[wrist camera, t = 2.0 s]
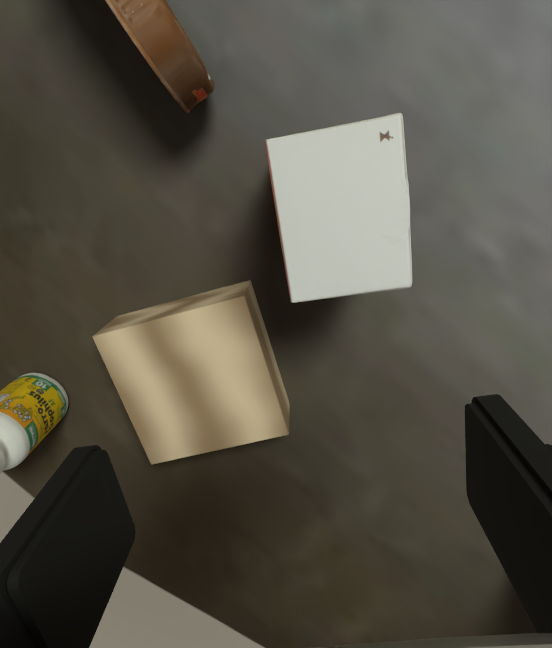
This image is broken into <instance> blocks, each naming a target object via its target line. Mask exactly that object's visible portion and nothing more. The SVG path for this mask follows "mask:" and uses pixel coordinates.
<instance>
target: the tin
mask: <svg viewBox="0 0 552 648" xmlns="http://www.w3.org/2000/svg"><path fill="white" fill-rule="evenodd" d="M105 1H106V3H107V4H108V5H109V7H110V9H111V10H112V12H113V13H114V15H115V16H116V18H117V19H118V21H119V22H120V24H121V25H122V27H123V28H124V30H125V31H126V33H127V34H128V36H129V37H130V38H131V40H132V41H133V43H134V44H135V45H136V47H137V48H138V50H139V51H140V52H141V54H142V55H143V57H144V58H145V60H146V61H147V62H148V64H149V65H150V67H151V68H152V69H153V71H154V72H155V74H156V75H157V76H158V78H159V79H160V80H161V82H162V83H163V85H164V86H165V87H166V89H167V90H168V91H169V92H170V94H171V95H172V96H173V98H174V99H175V100H176V102H177V103H178V104H179V105H180V106H181V107H182V108H183V110H184V111H185V112H186V113H190V110H191V109H192V108H193V107H194V106H196V105H197V104H198V103H199V102H201V101H202V100H204V99H205V98H206V97H207V96H208V95H209V94H211V93H212V92H213V90H214V82H213V80H212V78H211V77H210V75H209V74H208V72H207V71H206V68H205V66H204V64H203V62H202V60H201V58H200V57H199V55H198V53H197V51H196V50H195V48H194V46H193V45H192V43H191V41H190V39H189V38H188V36H187V35H186V33H185V32H184V30H183V28H182V27H181V25H180V23H179V22H178V20H177V19H176V17H175V15H174V14H173V12H172V11H171V9H170V7H169V6H168V4H167V2H166V1H165V0H105Z"/></svg>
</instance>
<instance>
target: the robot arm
mask: <svg viewBox="0 0 552 648" xmlns="http://www.w3.org/2000/svg"><path fill="white" fill-rule="evenodd" d="M465 439H466V488H467V496H468V500H469V503H470V505H471V507H472V509H473V511H474V513H475V515H476V517H477V519H478V521H479V522H480V524H481V526H482V528H483V530H484V532H485V534H486V536H487V538H488V539H489V541H490V543H491V545H492V547H493V549H494V551H495V553H496V555H497V557H498V558H499V560H500V562H501V564H502V566H503V568H504V570H505V572H506V574H507V575H508V577H509V579H510V581H511V583H512V585H513V587H514V589H515V591H516V592H517V594H518V596H519V598H520V600H521V602H522V604H523V606H524V608H525V610H526V611H527V613H528V615H529V617H530V619H531V621H532V623H533V625H534V627H535V628H536V630H537V632H538V633H526V634H507V635H488V636H469V637H450V638H435V639H421V640H407V641H393V642H379V643H365V644H351V645H336V646H322V647H309V648H552V445H549V444H544V443H543V442H542V441H541V440H540V439H539V438H538V437H537V435H536V434H535V433H534V432H533V431H532V430H531V429H530V428H529V427H528V426H527V424H526V423H525V422H524V421H523V420H522V419H521V418H520V417H519V416H518V415H517V414H516V412H515V411H514V410H513V409H512V408H511V407H510V406H509V405H508V404H507V403H506V401H505V400H504V399H503V398H502V397H501V396H500V395H498V394H495V395H487V396H479V397H474V398H473V399H472V403H471V404H466V406H465ZM134 538H135V526H134V523H133V521H132V518H131V515H130V512H129V510H128V507H127V504H126V502H125V499H124V496H123V493H122V491H121V488H120V485H119V483H118V480H117V477H116V475H115V472H114V469H113V466H112V464H111V461H110V458H109V456H108V453H107V452H106V451H105V450H101V448H100V447H99V446H97V445H94V446H86V447H78V448H74V449H73V450H72V451H71V452H70V454H69V455H68V456H67V458H66V459H65V460H64V461H63V463H62V464H61V465H60V467H59V468H58V469H57V470H56V472H55V473H54V474H53V476H52V477H51V478H50V480H49V481H48V482H47V483H46V485H45V486H44V487H43V489H42V490H41V491H40V492H39V494H38V495H37V496H36V498H35V499H34V500H33V502H32V503H31V504H30V505H29V507H28V508H27V509H26V511H25V512H24V513H23V514H22V516H21V517H20V518H19V520H18V521H17V522H16V523H15V525H14V526H13V527H12V529H11V530H10V531H9V533H8V534H7V535H6V536H5V538H4V539H3V540H2V542H1V543H0V648H89V646H90V644H91V642H92V639H93V637H94V634H95V632H96V630H97V627H98V625H99V622H100V620H101V618H102V615H103V613H104V611H105V608H106V606H107V604H108V601H109V599H110V597H111V594H112V592H113V589H114V587H115V585H116V582H117V580H118V578H119V575H120V573H121V570H122V568H123V566H124V563H125V561H126V559H127V556H128V554H129V551H130V549H131V547H132V544H133V542H134Z"/></svg>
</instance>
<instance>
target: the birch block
mask: <svg viewBox="0 0 552 648" xmlns="http://www.w3.org/2000/svg"><path fill="white" fill-rule="evenodd" d="M92 337H93V339H94V341H95V343H96V346H97V348H98V350H99V352H100V354H101V356H102V359H103V361H104V363H105V365H106V367H107V369H108V372H109V374H110V376H111V378H112V380H113V383H114V385H115V387H116V389H117V391H118V393H119V396H120V398H121V400H122V402H123V404H124V406H125V409H126V411H127V413H128V415H129V417H130V419H131V422H132V424H133V426H134V428H135V430H136V432H137V435H138V437H139V439H140V441H141V443H142V445H143V448H144V450H145V452H146V454H147V456H148V459H149V461H150V463H151V465H152V464H156V463H161V462H166V461H170V460H175V459H179V458H184V457H188V456H193V455H198V454H202V453H207V452H211V451H216V450H220V449H225V448H230V447H234V446H239V445H243V444H248V443H252V442H257V441H261V440H266V439H271V438H275V437H280V436H284V435H289V406H290V404H289V401H288V398H287V395H286V391H285V388H284V385H283V382H282V379H281V376H280V372H279V369H278V366H277V363H276V360H275V356H274V353H273V350H272V347H271V344H270V340H269V337H268V334H267V331H266V328H265V324H264V321H263V318H262V315H261V312H260V308H259V305H258V302H257V299H256V296H255V293H254V289H253V286H252V283H251V280H249V281H245V282H241V283H238V284H234V285H230V286H227V287H223V288H219V289H216V290H212V291H208V292H205V293H201V294H197V295H194V296H190V297H186V298H183V299H179V300H175V301H172V302H168V303H164V304H161V305H157V306H153V307H149V308H146V309H142V310H138V311H135V312H131V313H127V314H124V315H120V316H117V317H116V318H114V319H113V320H112V321H111V322H109V323H108V324H107V325H106V326H105V327H103V328H102V329H101V330H100V331H98V332H97V333H96V334H95V335H94V336H92Z"/></svg>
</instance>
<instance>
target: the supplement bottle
mask: <svg viewBox="0 0 552 648" xmlns="http://www.w3.org/2000/svg"><path fill="white" fill-rule="evenodd" d="M67 409H68V397H67V394H66V392H65V390H64V388H63V387H62V386H61V385H60V384H59V383H58V382H57V381H56V380H54V379H52V378H50V377H49V376H47V375H44V374H40V373H28V374H25V375H22V376H20V377H18V378H17V379H15V380H14V381H13V382H11V383H10V384H9V385H7V386H6V387H5V388H4V389H2V390H1V391H0V473H1V472H2V471H3V470H8V469H11V468H13V467H15V466H17V465H19V464H20V463H21V462H22V461H23V460H24V459H25V458H26V457H27V456H28V455H29V454H30V453H31V452H32V451H33V449H34V448H35V447H36V446H37V445H38V444H39V443H40V442H41V441H42V440H43V439H44V438H45V437H46V435H47V434H48V433H49V432H50V431H51V430H52V429H53V428H54V427H55V426H56V425H57V423H58V422H59V421H60V420H61V419H62V418H63V417H64V415H65V414H66V412H67Z"/></svg>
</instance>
